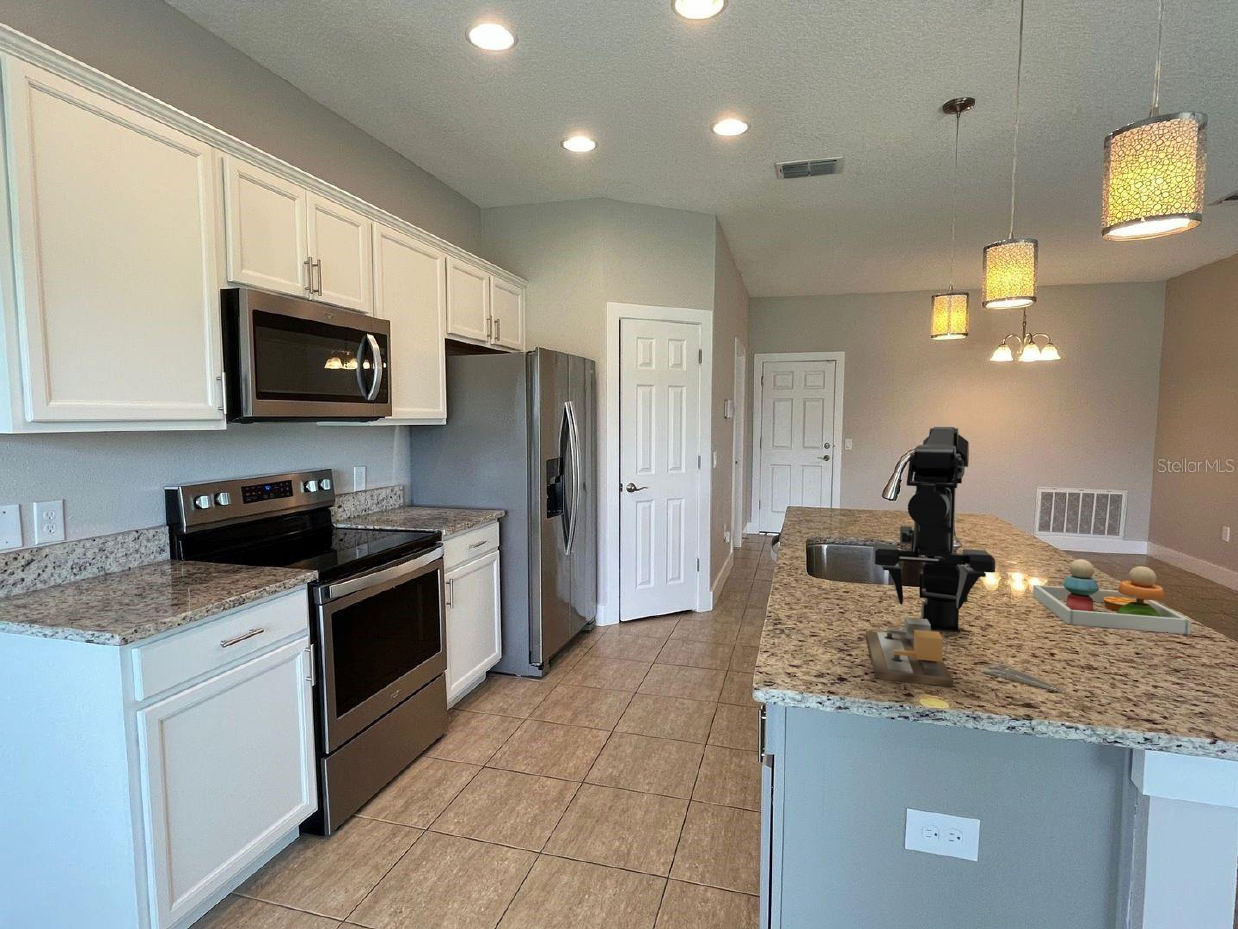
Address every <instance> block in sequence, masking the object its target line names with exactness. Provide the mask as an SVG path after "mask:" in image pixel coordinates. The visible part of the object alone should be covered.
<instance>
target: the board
mask: <svg viewBox="0 0 1238 929" xmlns="http://www.w3.org/2000/svg"><path fill="white" fill-rule="evenodd" d="M914 630H922V631H932V629H931V625H930V623H929V621H928V620H927V619H921V618H920V617H919V618H917V617H907V616H906V617H904V629H895V628H886V632H881V631H880V632H879V631H870V630H869V631H868V630H866V631H865V638H866V642H867V647H868V652H869V655H870V661H871V664H872V668H873V672H874V677H875V679H879V680H886V681H887V680H889V681H895V682H896V681H897V682H906V683H912V684H921V685H922V684H923V685H930V686H939V687H947V688H948V687H949V688H954V679H953V677H952V675H951V674H950V671H949V670H948V667H947V666H946V663H945V662H944V660H943V659H942V662H938V661H928V660H919V659H917V658H916V657H913V656H903V655H900V659H895V658H894V649H895V650H905V651H914Z"/></svg>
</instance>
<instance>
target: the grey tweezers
mask: <svg viewBox="0 0 1238 929" xmlns="http://www.w3.org/2000/svg"><path fill="white" fill-rule="evenodd" d="M987 667H988V669H985V668H982V669H981V670H980V673H981V674H985V675H990V676H993V675H994V676H993V677H998V676H999V678H1003V679H1005V680H1010V681H1014V682H1018V681H1021V682H1020V683H1022V682H1024V683H1023V684H1025V683H1027V684H1026V685H1029V684H1030V685H1029V686H1034V687H1038V688H1041V687H1042V688H1041V689H1045V688H1046V689H1045V690H1048V689H1050V690H1049V691H1052V690H1054V691H1053V692H1056V691H1058V692H1057V693H1059V692H1061V693H1060V694H1063V693H1067V694H1069V693H1071V692H1070V691H1068V690H1066V689H1063V688H1060V687H1058V686H1056V685H1053V684H1052V683H1049V682H1046V681H1044V680H1042V679H1040V678H1038V677H1035V676H1033V675H1030V674H1028V673H1025V672H1023V671H1020V670H1019V669H1016V668H1012V667H1009V666H1006V665H1003V664H995V665H994V664H993V665H988V666H987ZM990 669H991V670H990ZM1015 675H1017V676H1019V677H1017V676H1015ZM1020 677H1022V678H1020ZM1033 681H1035V682H1033ZM1036 682H1037V683H1036ZM1051 687H1053V688H1051ZM1054 688H1056V689H1059V690H1056V689H1054ZM1060 690H1061V691H1060ZM1062 691H1064V692H1062Z"/></svg>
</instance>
